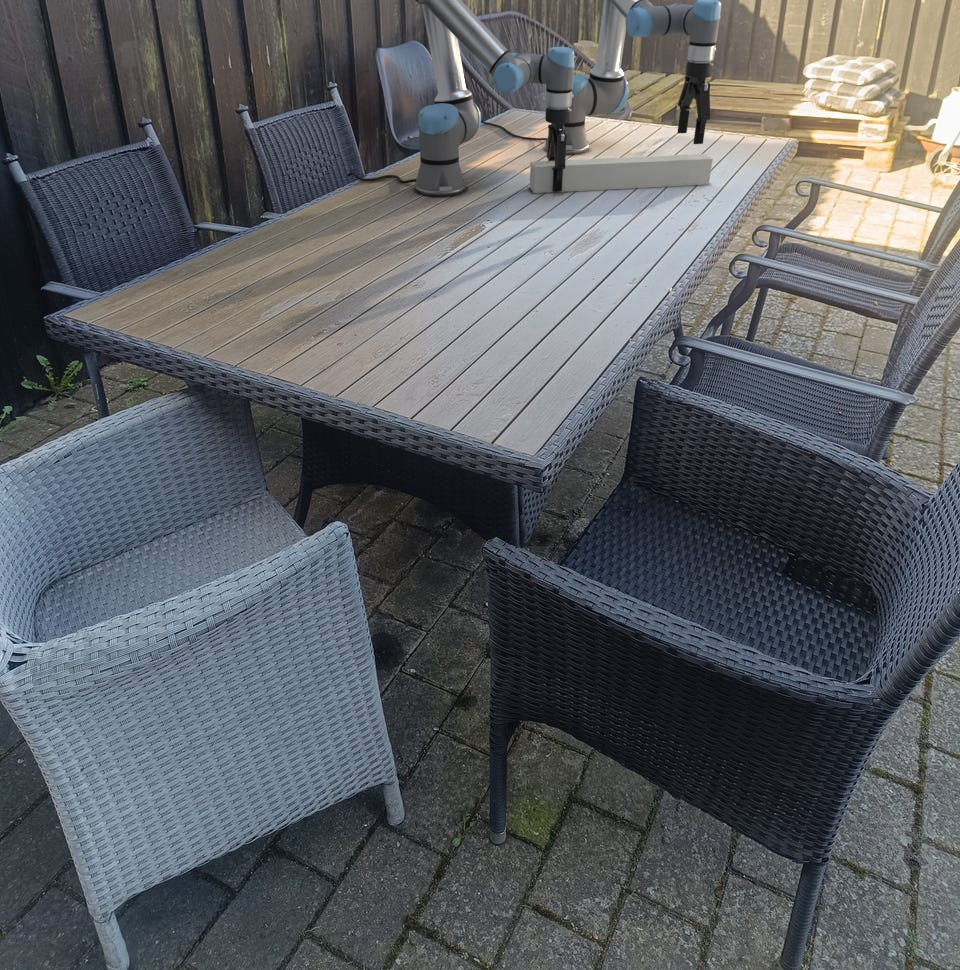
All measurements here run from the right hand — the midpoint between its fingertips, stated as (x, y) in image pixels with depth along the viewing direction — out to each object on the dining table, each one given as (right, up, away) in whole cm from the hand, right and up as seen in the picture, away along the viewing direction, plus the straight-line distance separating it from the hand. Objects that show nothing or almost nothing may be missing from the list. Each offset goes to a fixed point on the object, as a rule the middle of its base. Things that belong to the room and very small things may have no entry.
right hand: (689, 138), depth 256 cm
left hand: (-41, -14, +2) cm, 44 cm away
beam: (-21, -13, +5) cm, 25 cm away
